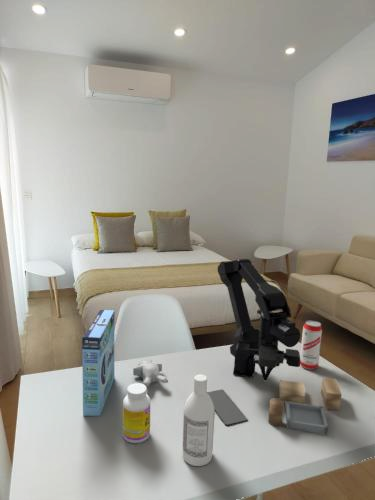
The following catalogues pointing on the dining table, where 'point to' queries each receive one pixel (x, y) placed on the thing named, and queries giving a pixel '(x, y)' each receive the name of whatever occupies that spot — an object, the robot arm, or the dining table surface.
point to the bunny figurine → (149, 372)
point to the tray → (306, 417)
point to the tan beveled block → (291, 391)
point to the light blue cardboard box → (98, 362)
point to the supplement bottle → (136, 414)
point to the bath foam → (198, 424)
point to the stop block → (331, 394)
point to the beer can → (310, 345)
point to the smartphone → (226, 408)
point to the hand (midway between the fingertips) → (265, 380)
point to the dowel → (276, 412)
